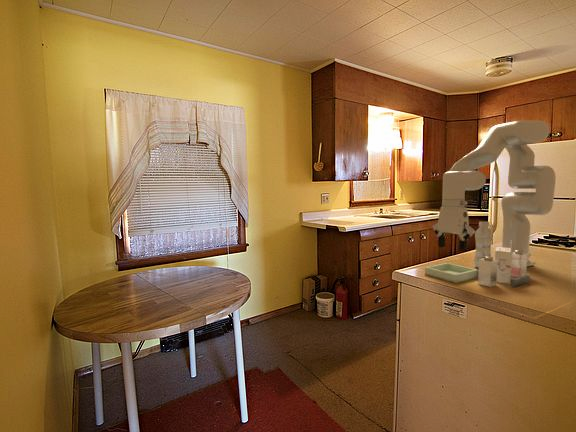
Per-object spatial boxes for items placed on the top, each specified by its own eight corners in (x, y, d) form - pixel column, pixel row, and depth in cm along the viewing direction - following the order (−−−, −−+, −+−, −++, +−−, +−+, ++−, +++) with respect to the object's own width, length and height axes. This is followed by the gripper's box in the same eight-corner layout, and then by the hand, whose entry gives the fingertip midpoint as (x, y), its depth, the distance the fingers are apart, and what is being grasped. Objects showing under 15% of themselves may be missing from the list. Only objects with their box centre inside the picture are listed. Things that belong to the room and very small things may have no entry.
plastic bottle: (492, 268, 127) (494, 221, 125) (489, 271, 122) (491, 223, 120) (475, 265, 131) (477, 220, 130) (471, 268, 126) (473, 222, 125)
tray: (446, 269, 126) (447, 262, 125) (478, 277, 114) (478, 269, 114) (424, 274, 119) (425, 267, 119) (455, 283, 108) (455, 275, 108)
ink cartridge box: (494, 276, 116) (496, 238, 114) (510, 278, 113) (512, 240, 111) (493, 282, 109) (495, 242, 108) (510, 284, 106) (512, 243, 104)
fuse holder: (502, 271, 121) (503, 247, 120) (539, 279, 110) (540, 253, 109) (466, 280, 110) (467, 254, 110) (503, 290, 99) (504, 261, 99)
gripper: (482, 204, 108) (480, 251, 110) (438, 202, 124) (437, 244, 125) (469, 205, 105) (468, 253, 107) (426, 203, 120) (425, 246, 122)
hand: (451, 248), depth 116 cm, fingers open, 8 cm apart
